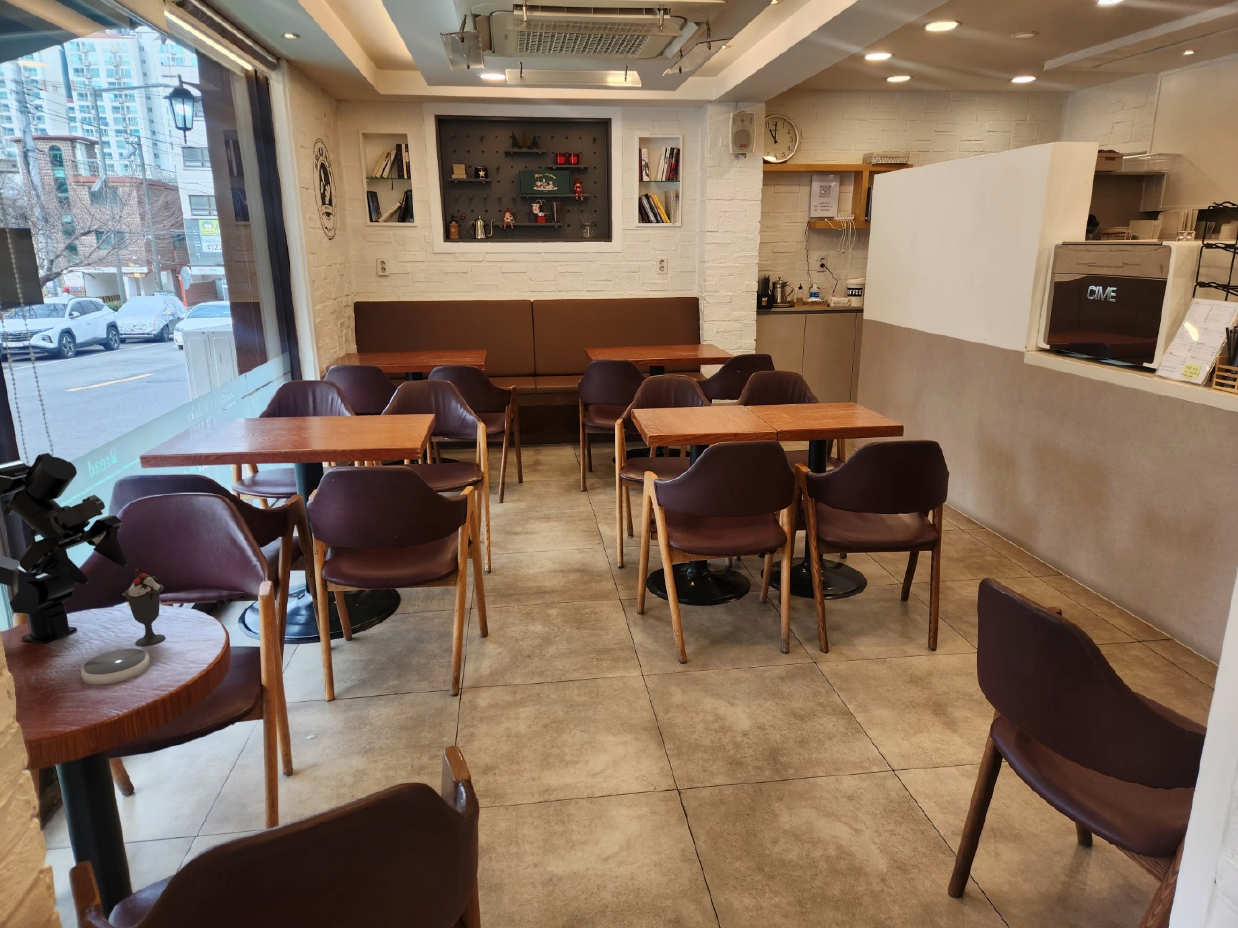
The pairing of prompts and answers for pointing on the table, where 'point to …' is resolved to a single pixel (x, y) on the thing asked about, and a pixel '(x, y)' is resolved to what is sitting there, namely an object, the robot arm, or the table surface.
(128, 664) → the round mirror
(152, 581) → the sundae
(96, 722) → the table surface
